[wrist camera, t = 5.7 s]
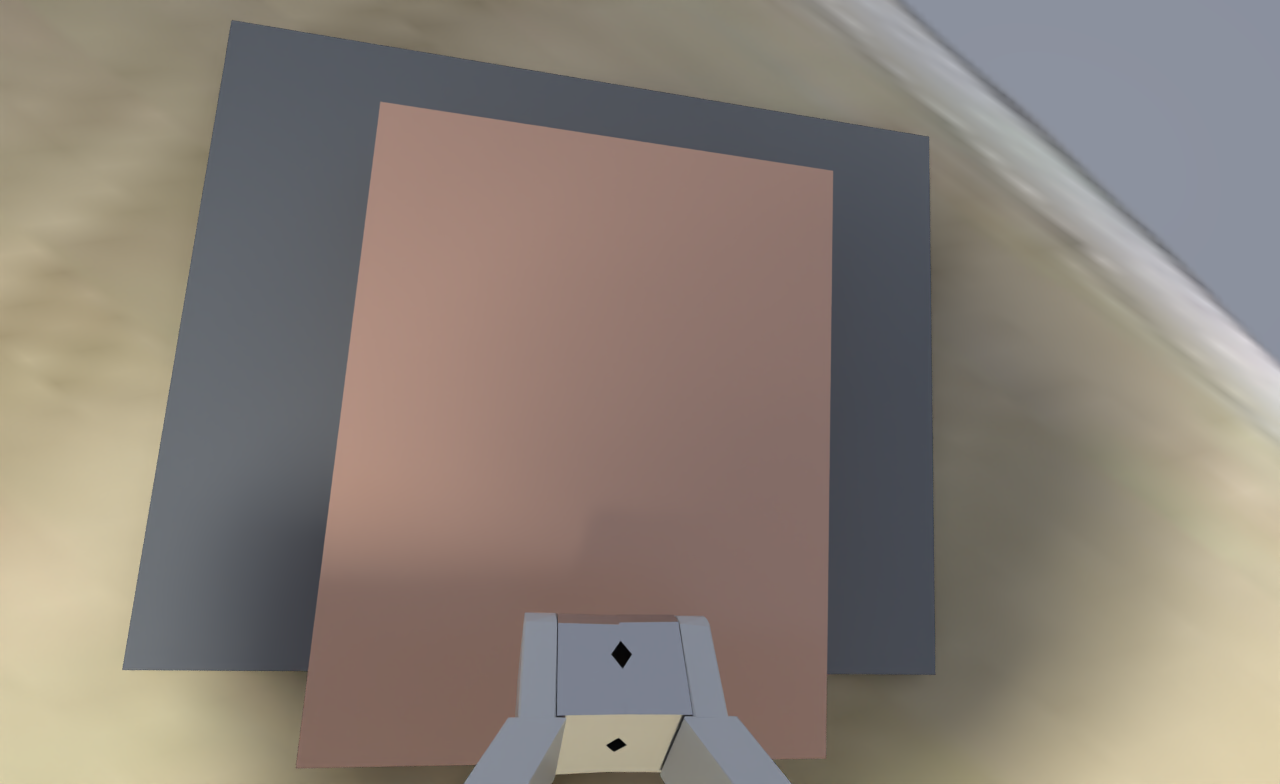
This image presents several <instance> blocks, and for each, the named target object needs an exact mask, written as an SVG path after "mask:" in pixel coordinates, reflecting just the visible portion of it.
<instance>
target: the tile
mask: <svg viewBox="0 0 1280 784" xmlns="http://www.w3.org/2000/svg"><path fill="white" fill-rule="evenodd" d="M832 222H833V171H831V170H825V169H818V168H811V167H805V166H798V165H792V164H785V163H779V162H772V161H766V160H759V159H752V158H746V157H739V156H733V155H726V154H720V153H713V152H707V151H700V150H694V149H687V148H680V147H674V146H667V145H661V144H654V143H648V142H641V141H635V140H628V139H621V138H615V137H608V136H602V135H595V134H589V133H582V132H576V131H569V130H562V129H556V128H549V127H543V126H536V125H530V124H523V123H517V122H510V121H504V120H497V119H490V118H484V117H477V116H471V115H464V114H458V113H451V112H445V111H438V110H431V109H425V108H418V107H412V106H405V105H399V104H392V103H386V102H380V109H379V117H378V125H377V132H376V140H375V148H374V156H373V164H372V172H371V180H370V188H369V195H368V203H367V211H366V219H365V227H364V235H363V243H362V250H361V258H360V266H359V274H358V282H357V290H356V298H355V306H354V313H353V321H352V329H351V337H350V345H349V353H348V361H347V368H346V376H345V384H344V392H343V400H342V408H341V416H340V423H339V431H338V439H337V447H336V455H335V463H334V471H333V479H332V486H331V494H330V502H329V510H328V518H327V526H326V534H325V541H324V549H323V557H322V565H321V573H320V581H319V589H318V597H317V604H316V612H315V620H314V628H313V636H312V644H311V652H310V659H309V667H308V675H307V683H306V691H305V699H304V707H303V714H302V722H301V730H300V738H299V746H298V754H297V762H296V768H339V767H392V766H446V765H476V764H477V763H478V762H479V760H480V759H481V757H482V756H483V754H484V753H485V751H486V750H487V748H488V747H489V745H490V744H491V742H492V741H493V739H494V738H495V736H496V735H497V733H498V732H499V730H500V729H501V727H502V726H503V724H504V723H505V722H506V720H507V719H508V718H510V717H515V711H516V696H517V681H518V670H519V660H520V650H521V641H522V632H523V623H524V614H525V612H526V613H556V614H595V615H674V616H704V617H706V619H707V620H708V622H709V624H710V629H711V634H712V639H713V644H714V649H715V654H716V659H717V664H718V669H719V674H720V679H721V684H722V688H723V693H724V698H725V703H726V708H727V713H728V716H737V717H738V718H739V719H740V721H741V722H742V723H743V724H744V726H745V727H746V728H747V729H748V731H749V732H750V733H751V734H752V735H753V737H754V738H755V739H756V740H757V742H758V743H759V744H760V745H761V747H762V748H763V749H764V750H765V751H766V753H767V754H768V755H769V756H770V758H771V759H819V758H826V718H827V636H828V553H829V470H830V388H831V305H832Z"/></svg>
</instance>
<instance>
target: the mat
mask: <svg viewBox="0 0 1280 784" xmlns="http://www.w3.org/2000/svg"><path fill="white" fill-rule="evenodd" d="M380 102H386V103H392V104H399V105H405V106H412V107H418V108H425V109H431V110H438V111H445V112H451V113H458V114H464V115H471V116H477V117H484V118H490V119H497V120H504V121H510V122H517V123H523V124H530V125H536V126H543V127H549V128H556V129H562V130H569V131H576V132H582V133H589V134H595V135H602V136H608V137H615V138H621V139H628V140H635V141H641V142H648V143H654V144H661V145H667V146H674V147H680V148H687V149H694V150H700V151H707V152H713V153H720V154H726V155H733V156H739V157H746V158H752V159H759V160H766V161H772V162H779V163H785V164H792V165H798V166H805V167H811V168H818V169H825V170H831V171H833V222H832V305H831V388H830V470H829V553H828V636H827V674H904V675H935V600H934V516H933V432H932V348H931V264H930V180H929V137H927V136H921V135H915V134H909V133H903V132H897V131H891V130H885V129H879V128H874V127H868V126H862V125H856V124H850V123H844V122H838V121H832V120H826V119H820V118H814V117H808V116H802V115H796V114H790V113H784V112H778V111H772V110H766V109H760V108H754V107H748V106H742V105H736V104H730V103H724V102H718V101H712V100H706V99H700V98H694V97H688V96H682V95H676V94H670V93H664V92H658V91H652V90H646V89H640V88H634V87H628V86H622V85H616V84H610V83H604V82H598V81H592V80H586V79H581V78H575V77H569V76H563V75H557V74H551V73H545V72H539V71H533V70H527V69H521V68H515V67H509V66H503V65H497V64H491V63H485V62H479V61H473V60H467V59H461V58H455V57H449V56H443V55H437V54H431V53H425V52H419V51H413V50H407V49H401V48H395V47H389V46H383V45H377V44H371V43H365V42H359V41H353V40H347V39H341V38H335V37H329V36H323V35H317V34H311V33H305V32H299V31H293V30H287V29H282V28H276V27H270V26H264V25H258V24H252V23H246V22H240V21H234V20H232V21H231V27H230V33H229V39H228V45H227V51H226V57H225V63H224V69H223V75H222V81H221V87H220V92H219V98H218V104H217V110H216V116H215V122H214V128H213V134H212V140H211V146H210V152H209V158H208V164H207V170H206V176H205V182H204V187H203V193H202V199H201V205H200V211H199V217H198V223H197V229H196V235H195V241H194V247H193V253H192V259H191V265H190V271H189V277H188V283H187V288H186V294H185V300H184V306H183V312H182V318H181V324H180V330H179V336H178V342H177V348H176V354H175V360H174V366H173V372H172V378H171V384H170V389H169V395H168V401H167V407H166V413H165V419H164V425H163V431H162V437H161V443H160V449H159V455H158V461H157V467H156V473H155V479H154V485H153V490H152V496H151V502H150V508H149V514H148V520H147V526H146V532H145V538H144V544H143V550H142V556H141V562H140V568H139V574H138V580H137V586H136V591H135V597H134V603H133V609H132V615H131V621H130V627H129V633H128V639H127V645H126V651H125V657H124V663H123V669H122V670H214V671H308V667H309V659H310V652H311V644H312V636H313V628H314V620H315V612H316V604H317V597H318V589H319V581H320V573H321V565H322V557H323V549H324V541H325V534H326V526H327V518H328V510H329V502H330V494H331V486H332V479H333V471H334V463H335V455H336V447H337V439H338V431H339V423H340V416H341V408H342V400H343V392H344V384H345V376H346V368H347V361H348V353H349V345H350V337H351V329H352V321H353V313H354V306H355V298H356V290H357V282H358V274H359V266H360V258H361V250H362V243H363V235H364V227H365V219H366V211H367V203H368V195H369V188H370V180H371V172H372V164H373V156H374V148H375V140H376V132H377V125H378V117H379V109H380Z"/></svg>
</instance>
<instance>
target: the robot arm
mask: <svg viewBox="0 0 1280 784" xmlns="http://www.w3.org/2000/svg"><path fill="white" fill-rule="evenodd" d="M595 772H661V773H660V776H661V778H662V780H663V781H664V783H665V784H791V782H790V781H789V780H788V779H787V777H786V776H785V775H784V774H783V772H782V771H781V770H780V769H779V767H778V766H777V765H776V764H775V763H774V761H773V760H772V759H771V758H770V756H769V755H768V754H767V753H766V751H765V750H764V749H763V748H762V747H761V745H760V744H759V743H758V742H757V740H756V739H755V738H754V737H753V735H752V734H751V733H750V732H749V731H748V729H747V728H746V727H745V726H744V724H743V723H742V722H741V721H740V719H739V718H738V717H737V716H728V713H727V708H726V703H725V698H724V693H723V688H722V684H721V679H720V674H719V669H718V664H717V659H716V654H715V649H714V644H713V639H712V634H711V629H710V624H709V622H708V620H707V619H706V617H704V616H674V615H595V614H556V613H526V612H525V614H524V623H523V632H522V641H521V650H520V660H519V670H518V681H517V696H516V711H515V717H510V718H508V719H507V720H506V722H505V723H504V724H503V726H502V727H501V729H500V730H499V732H498V733H497V735H496V736H495V738H494V739H493V741H492V742H491V744H490V745H489V747H488V748H487V750H486V751H485V753H484V754H483V756H482V757H481V759H480V760H479V762H478V763H477V764H476V766H475V767H474V769H473V770H472V772H471V773H470V775H469V776H468V778H467V779H466V781H465V782H464V784H552V782H553V780H554V779H555V774H575V773H595Z"/></svg>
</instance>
